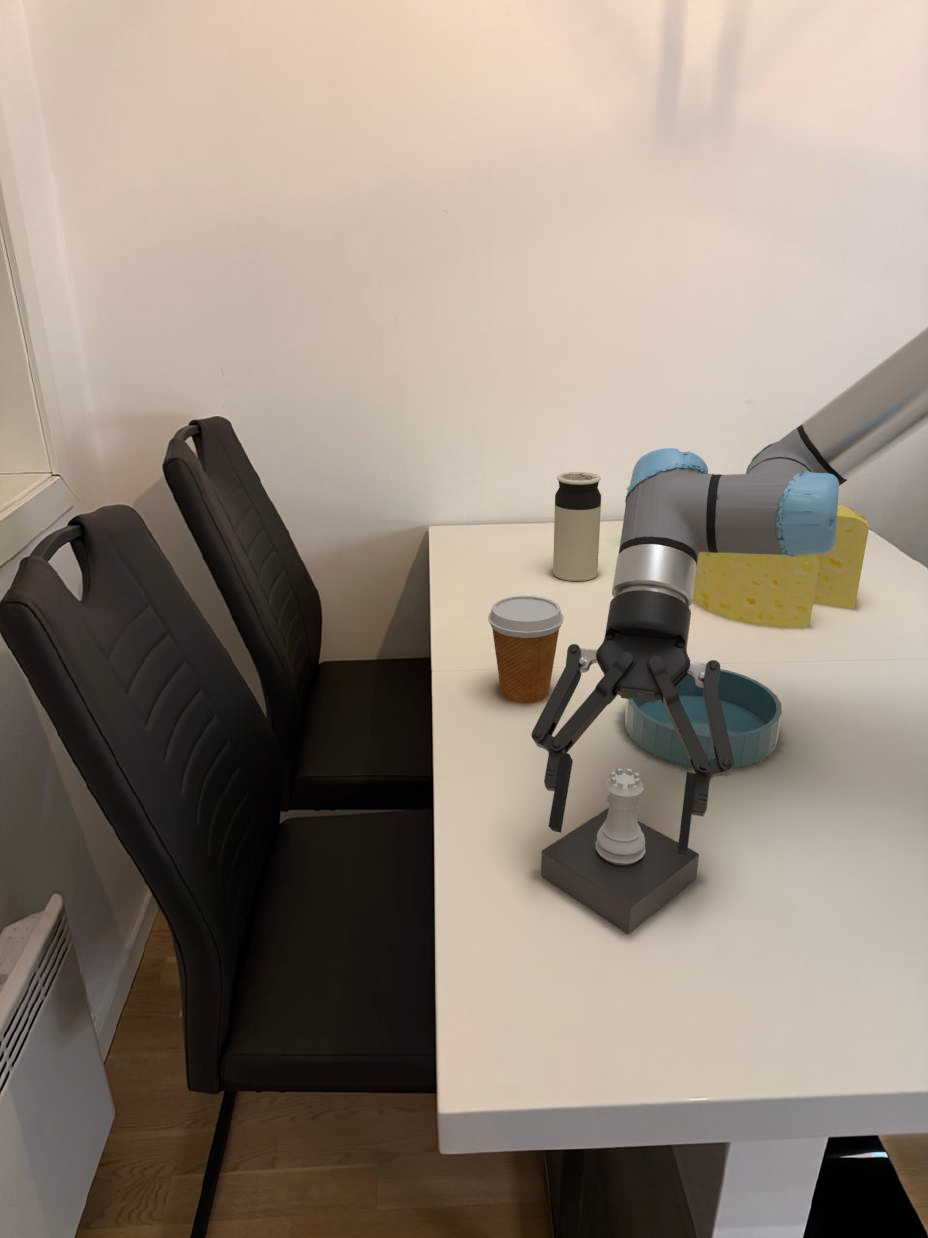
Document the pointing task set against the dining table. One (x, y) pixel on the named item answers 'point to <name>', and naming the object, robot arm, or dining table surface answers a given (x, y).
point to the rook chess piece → (622, 821)
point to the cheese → (784, 579)
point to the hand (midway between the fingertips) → (617, 840)
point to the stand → (618, 874)
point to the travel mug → (577, 526)
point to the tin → (745, 713)
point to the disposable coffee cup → (525, 645)
